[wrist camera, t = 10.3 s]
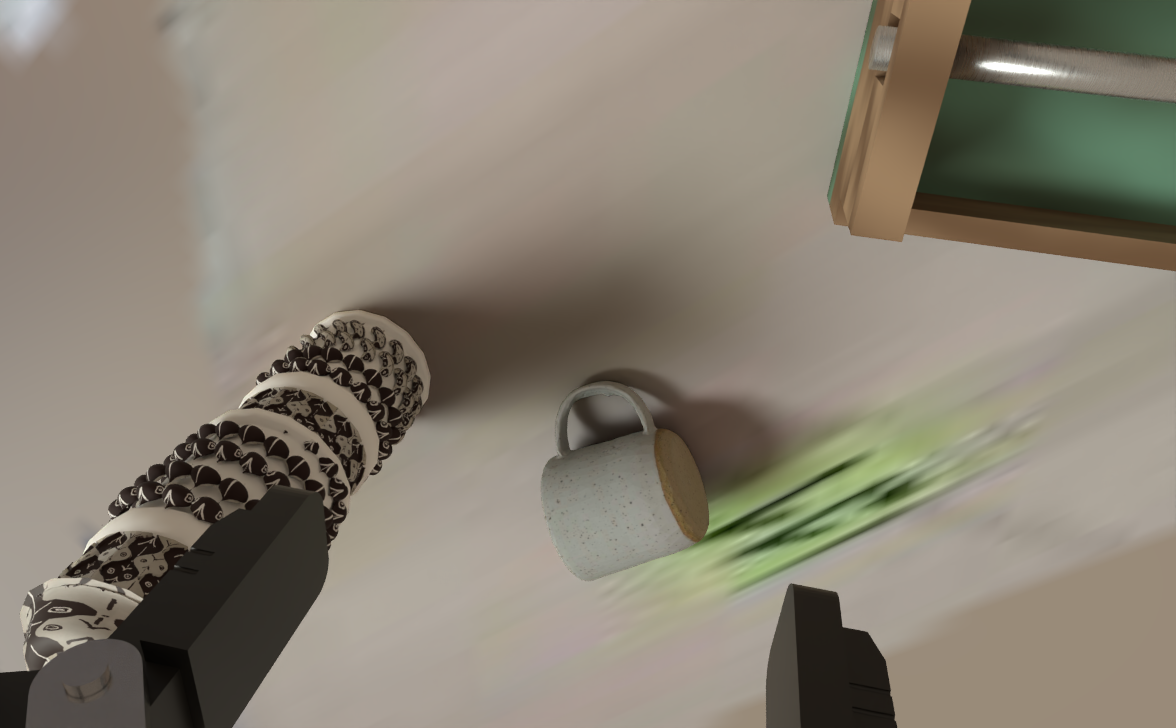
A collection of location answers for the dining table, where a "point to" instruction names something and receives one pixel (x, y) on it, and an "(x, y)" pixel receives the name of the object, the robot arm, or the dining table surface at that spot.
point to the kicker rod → (1050, 67)
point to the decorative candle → (242, 471)
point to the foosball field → (1010, 137)
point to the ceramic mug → (621, 494)
